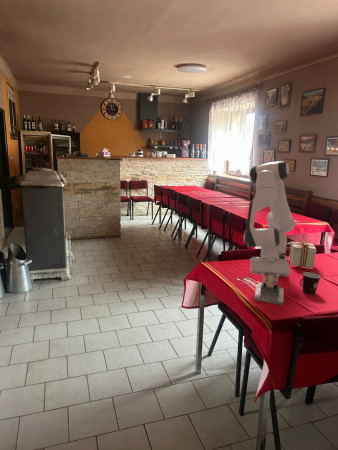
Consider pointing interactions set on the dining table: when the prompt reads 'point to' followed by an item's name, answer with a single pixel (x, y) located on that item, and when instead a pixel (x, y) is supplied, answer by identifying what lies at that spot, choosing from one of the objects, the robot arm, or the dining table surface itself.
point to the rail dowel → (270, 280)
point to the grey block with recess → (269, 294)
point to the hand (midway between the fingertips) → (270, 281)
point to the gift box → (302, 254)
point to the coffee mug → (310, 283)
